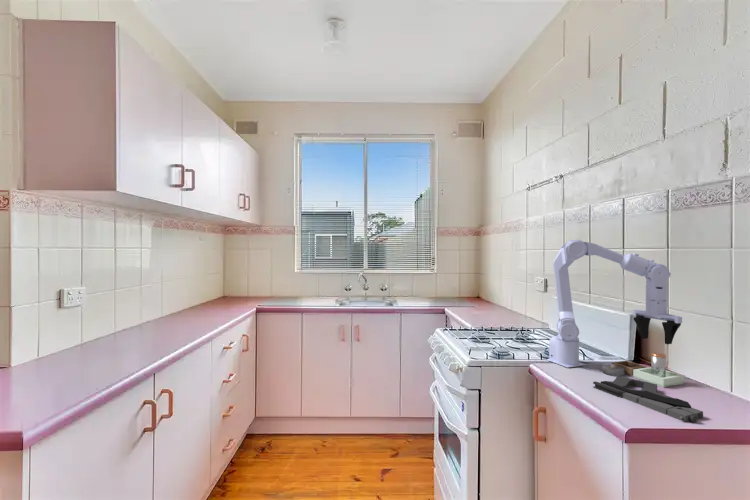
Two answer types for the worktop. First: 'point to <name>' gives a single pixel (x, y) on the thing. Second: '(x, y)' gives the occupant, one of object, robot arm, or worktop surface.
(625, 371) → the brown open box
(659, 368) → the glass jar
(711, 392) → the worktop surface
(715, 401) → the worktop surface
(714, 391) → the worktop surface
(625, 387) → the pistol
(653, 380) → the tray
